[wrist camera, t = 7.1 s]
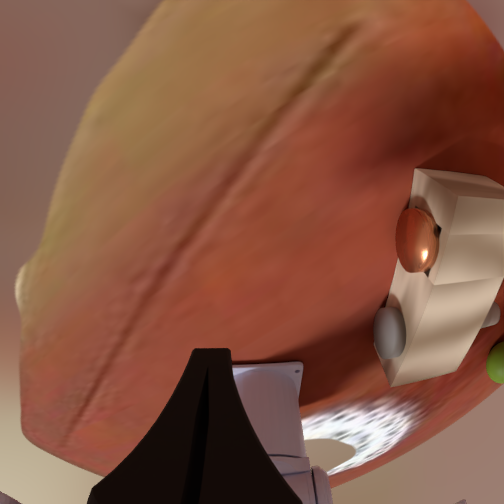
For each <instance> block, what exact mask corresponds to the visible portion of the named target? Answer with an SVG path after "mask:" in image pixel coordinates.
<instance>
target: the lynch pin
mask: <svg viewBox="0 0 504 504" xmlns="http://www.w3.org/2000/svg"><path fill="white" fill-rule="evenodd" d="M441 230H442V228H441V227H440V226H439V225H438V224H437V223H436V221H435V219H434V217H433V215H432V214H431V213H430V212H429V211H428V210H426V209H417V208H409V209H406V210H404V211H403V212H402V214H401V215H400V217H399V220H398V223H397V228H396V250H397V255H398V258H399V261H400V263H401V265H402V267H403V268H404V269H405V270H406V271H407V272H409V273H418V272H427V271H429V270H430V269H431V268H432V267H433V266H434V264H435V262H436V260H437V257H438V253H439V238H440V234H441Z"/></svg>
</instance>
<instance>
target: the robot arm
mask: <svg viewBox="0 0 504 504" xmlns="http://www.w3.org/2000/svg"><path fill="white" fill-rule="evenodd" d="M302 373H303V363H302V362H287V363H271V364H249V365H232V359H231V350H229V349H228V348H195V349H194V350H193V351H192V354H191V356H190V359H189V361H188V364H187V366H186V368H185V370H184V373H183V375H182V377H181V379H180V381H179V383H178V385H177V386H176V388H175V390H174V392H173V394H172V396H171V398H170V399H169V401H168V403H167V404H166V406H165V408H164V409H163V411H162V412H161V414H160V416H159V417H158V419H157V420H156V421H155V423H154V424H153V426H152V427H151V428H150V430H149V431H148V432H147V434H146V435H145V436H144V438H143V439H142V440H141V441H140V442H139V444H138V445H137V446H136V447H135V448H134V449H133V451H132V452H131V453H130V454H129V455H128V456H127V457H126V458H125V459H124V460H123V461H122V462H121V463H120V464H119V465H118V466H117V467H116V468H115V469H114V470H113V471H112V472H111V473H109V474H108V475H107V476H106V477H105V478H104V479H102V480H101V481H100V482H99V483H98V484H96V485H95V486H94V487H93V488H92V490H91V493H90V495H89V498H88V501H87V504H333V501H332V494H331V488H330V483H329V479H328V475H327V473H326V471H325V470H323V469H321V468H320V467H319V466H312V468H311V469H312V470H311V469H310V463H309V458H308V457H306V450H305V443H304V436H303V429H302V423H301V416H300V409H299V403H298V398H299V392H300V386H301V380H302ZM311 474H312V475H311ZM0 504H21V503H19V502H18V501H17V500H15V499H13V498H11V497H10V496H8V495H6V494H4V493H2V492H1V491H0ZM455 504H467V503H466V500H461V501H459V502H457V503H455Z"/></svg>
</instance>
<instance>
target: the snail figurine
mask: <svg viewBox="0 0 504 504" xmlns="http://www.w3.org/2000/svg"><path fill="white" fill-rule="evenodd" d="M486 369H487V373H488V375H489V377H490V378H491V379H492V380H493V381H495V382H497V383H504V341H503V342H500V343H498V344H497V345H496V346H494V347H493V349H492V350H491V351H490V353H489V355H488V358H487V362H486Z"/></svg>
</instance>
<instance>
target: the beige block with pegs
mask: <svg viewBox="0 0 504 504" xmlns="http://www.w3.org/2000/svg"><path fill="white" fill-rule="evenodd" d="M409 208H417V209H426V210H428V211H429V212H430V213H431V214H432V215H433V217H434V219H435V221H436V223H437V224H438V225H439V226H440V227H441V228H442V230H441V234H440V238H439V253H438V257H437V260H436V262H435V264H434V266H433V267H432V268H431V269H430V270H429V271H427V272H418V273H409V272H407V271H406V270H405V269H404V268H403V267H402V265H401V263H400V261H399V258H398V261H397V265H396V269H395V273H394V277H393V281H392V285H391V288H390V292H389V295H388V299H387V302H386V306H385V308H380V309H379V310H378V311H377V313H376V315H375V319H374V328H373V332H374V344H373V345H374V347H375V349H376V352H377V354H378V357H379V359H380V362H381V364H382V367H383V369H384V372H385V374H386V377H387V379H388V382H389V385H390V387H394V386H399V385H403V384H408V383H412V382H416V381H421V380H425V379H429V378H433V377H436V376H440V375H444V374H447V373H451V372H454V371H456V370H457V368H458V367H459V365H460V363H461V362H462V360H463V358H464V357H465V355H466V353H467V352H468V350H469V348H470V346H471V345H472V343H473V341H474V339H475V337H476V335H477V334H478V332H479V330H480V328H484V327H488V326H492V325H495V324H497V323H498V321H499V319H500V308H499V306H498V304H497V303H495V302H493V301H494V299H495V297H496V294H497V292H498V290H499V288H500V285H501V283H502V280H503V278H504V187H503V186H502V185H500V184H498V183H497V182H495V181H493V180H491V179H490V178H488V177H486V176H482V175H474V174H467V173H459V172H450V171H441V170H431V169H420V168H415V170H414V177H413V184H412V190H411V197H410V203H409ZM409 208H408V209H409Z"/></svg>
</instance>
